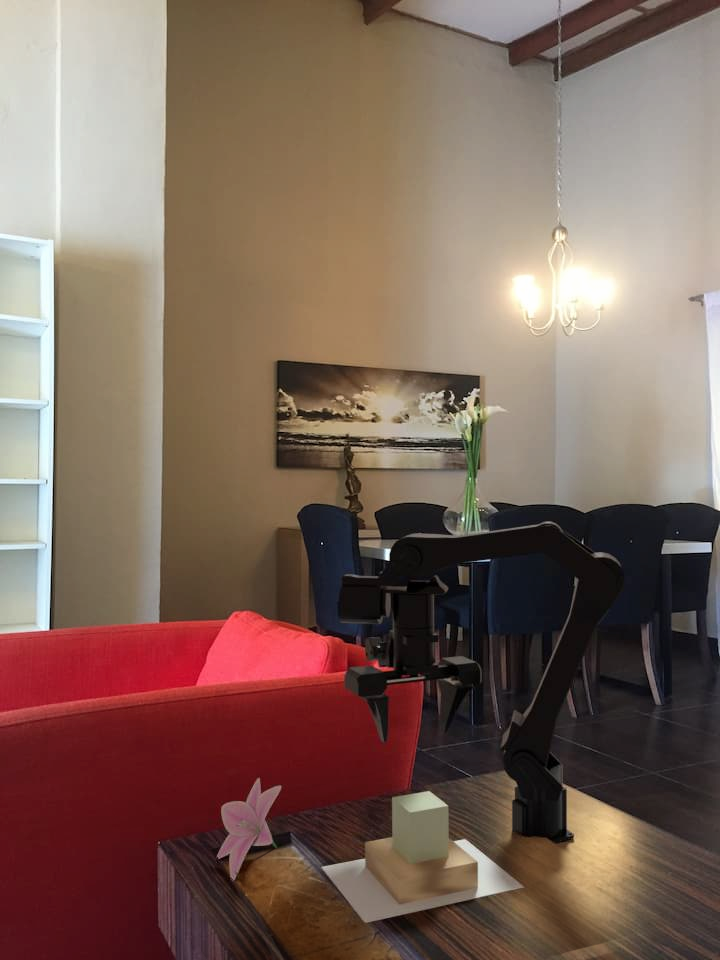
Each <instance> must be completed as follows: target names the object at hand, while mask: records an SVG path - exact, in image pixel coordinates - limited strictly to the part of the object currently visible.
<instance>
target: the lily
mask: <svg viewBox="0 0 720 960" xmlns="http://www.w3.org/2000/svg"><path fill="white" fill-rule="evenodd" d="M261 790H262V789H261V778H260V777H258V778H256V780H255V782H254V784H253V786H252V787H251V790H250V791H249V794H248V795H247V798H246V801H242V800H241V801H240V800H238V801H237V800H234V801H230V802H225V803H224V804H223V805H221V809H220V811H221V812H220V813H221V819H222V823H223V825H224V828H225V829H226V831H227V832H228V833H229V834H228V835H227V836H226V838H225V840H224V841H223V843H222V844H221V847H220V848H219V851H218V853H217V855H216V858H217V857H218V859H217V860H219V859H221V858H224V857H226V856H229V859H228V860H229V862H228V863H229V864H228V865H229V874H230V875H229V876H230V879H231V878H232V879H233V880H232V879H231V880H232V881H235V880H236V877H237V876H238V874H239V872H240V869H241V867H242V864H243V862H244V860H245V858H246V855H248V854H247V853H248V852H249V849H250V848H251V846H253V847H256V846H257V847H261V846H262V847H263V846H264V847H265V846H270V845H271V844H272V846H273V847H274V848H275V849H277V848H278V846H277V844H276V843H275V841H274V840H273V836H272V834H271V831H270V828H269V826H268V824H267V821H266V818H267V817H266V816H267V815H268V813H269V811H270V808H271V807H272V806H273V803H274V802H275V800H276V798H277V797H278V795H279V794H280V792H281V790H282V785H276V786H273V787H271V788H269V789H267V790H265V791H263V792H262V791H261Z"/></svg>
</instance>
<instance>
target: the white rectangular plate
mask: <svg viewBox="0 0 720 960" xmlns="http://www.w3.org/2000/svg"><path fill="white" fill-rule="evenodd" d="M452 841H453V842H455V843H456V844H457V845H458V846H459V847H461V848H462V849H463V850H464V851H465V852H467V853H468V854H469V855H470V856H471V857H473V858H474V859H475V860H476V861H477V862H478V888H473V889H469V890H464V891H460V892H455V893H451V894H446V895H441V896H437V897H432V898H428V899H423V900H419V901H414V902H409V903H405V904H400V905H399V903H398V902H397V901H396V900H395V899H394V898H393V897H392V896H391V895H390V893H389V892H388V891H387V890H386V889H385V888H384V887H383V886H382V885H381V883H380V882H379V881H378V880H377V879H376V878H375V877H374V876H373V875H372V873H371V872H370V871H369V870H368V869H367V868H366V867H365V858H361V859H355V860H350V861H346V862H340V863H335V864H329V865H325V866H321V867H320V868H321V869H322V870H323V872H324V873H325V875H327V877H328V878H329V880H330V881H331V882H332V883H333V885H334V886H335V887H336V888H337V889H338V890H339V892H340V893H341V894H342V896H343V897H344V898H345V899H346V901H347V902H348V903H349V904H350V906H351V907H352V908H353V910H354V911H355V912H356V913H357V915H358V916H359V917H360V918H361V920H362V921H363V922H364V924H366V923H371V922H376V921H379V920H384V919H388V918H394V917H399V916H402V915H407V914H411V913H416V912H420V911H425V910H430V909H434V908H438V907H442V906H447V905H452V904H456V903H460V902H464V901H471V900H474V899H475V900H476V899H478V898H484V897H488V896H493V895H496V894H500V893H505V892H506V893H507V892H510V891H514V890H518V889H523V888H525V886H524V885H523V884H521V883H520V882H519V881H518V880H516V879H515V877H513V876H511V875H510V874H509V873H508V872H507V871H506V870H504V869H503V868H501V867H500V866H499V865H498V864H497V863H495V862H494V861H493V860H492V859H490V858H489V857H488V856H487V855H485V854H484V853H483V852H482V851H481V850H479V849H478V848H477V847H476V846H474V845H473V844H472V843H470V841H468V840H467V839H466V838H465V839H464V838H463V839H458V840H452Z"/></svg>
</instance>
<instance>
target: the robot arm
mask: <svg viewBox="0 0 720 960" xmlns="http://www.w3.org/2000/svg"><path fill="white" fill-rule="evenodd" d="M540 553H541V554H545V555H546V556H548V557H549V558H551V559H552V560H553V561H554V562H555V563H556V564H557V565H559V566H560V567H562V568H563V569H564V570H565V571H566V572H568V573H569V574H570V575H572V576H573V577H574V578H575V579H576V580H575V584H574V590H573V595H572V599H571V600H572V601H571V605H570V610H569V614H568V616H567V619H566V621H565V623H564V626H563V628H562V630H561V632H560V636H559V638H558V639H557V642H556V644H555V647H554V649H553V652H552V654H551V657H550V659H549V661H548V663H547V666H546V668H545V671H544V673H543V675H542V678H541V680H540V683H539V685H538V686H537V687H538V688H537V690H536V692H535V694H534V697H533V699H532V701H531V703H530V705H529V706H528V707H527V709H526V710H525V711H524V713H523V714H522V713H520V711H518V710H516V709H515V710H513V713H512V717H511V722H510V725H509V727H508V729H507V730H506V731H505V732H504V733H503V734H502V735H503V736H502V740H501V744H500V751H502V752H503V751H504V752H503V755H502V760H501V761H502V766H503V769H504V772H505V773H506V774H507V776H508V777H509V779H511V780H513V781H514V782H515V784H516V786H515V787H514V799H512V801H511V829H512V831H514V832H515V833H517V834H518V835H519V836H521V837H522V838H523V837H524V838H526V837H527V838H532V837H536V838H542V839H544V838H546V839H547V840H548V841H550V842H551V843H554V844H555V843H558V842H562V841H567V840H572V839H574V838H575V834H574V832H572V831H570V830H568V829H567V828H568V822H567V821H568V816H567V815H568V813H567V812H568V809H567V808H568V807H567V806H568V805H567V802H568V799H567V798H568V797H567V796H568V795H567V793H568V792H567V791H568V790H567V788H566V787H565V786H564V785H563V784H564V781H563V779H564V778H563V777H564V774H563V773H564V771H563V770H564V764H563V763H562V762H561V761H560V760H559V759H558V758H557V757H556V756H555V755H554V754H553V753H552V752H551V749H552V743H553V739H554V733H555V728H556V724H557V720H558V717H559V716H560V713H561V710H562V708H563V707H564V703H565V701H566V700H567V699H566V698H567V696H568V694H569V692H570V689H571V688H572V685H573V682H574V679H575V678H576V675H577V673H578V670H579V669H580V665H581V664H582V661H583V659H584V656H585V654H586V652H587V649H588V647H589V644H590V642H591V639H592V638H593V635H594V633H595V631H596V629H597V627H598V625H599V624H600V623H601V622H602V621H603V619H604V618H605V616H606V615H607V614H608V613H609V611H610V610H611V609H612V607H613V606H614V605H615V603H616V601H617V600H618V599H619V596H620V595H621V594H622V592H623V590H624V588H625V586H626V585H625V584H626V574H625V571H624V569H623V567H622V565H621V563H620V561H618V559H617V558H616V557H615V556H613V555H611V554H610V553H607V552H603V551H602V552H601V551H600V552H595V551H593V550H592V549H591V548H589V547H588V546H587V545H586V544H584V543H582V542H581V541H579V540H578V539H576V538H575V537H573V536H572V535H571V534H569V533H567V532H566V531H565V530H563V529H562V528H561V526H560V525H558V524H557V523H555V522H553V521H543V522H541V523H538V524H532V525H525V526H519V527H511V528H503V529H498V530H497V529H496V530H489V531H483V532H475V533H468V534H460V535H453V534H452V535H451V534H439V533H419V532H418V533H411V534H408V535H405V536H403V537H401V538H399V539H398V540H396V541H395V542H394V543H393V545H392V546H391V548H390V551H389V556H388V557H389V558H388V560H389V562H388V563H387V564H386V566H385V567H384V569H383V570H382V571H379V575H378V576H376V575H374V576H373V575H358V574H351V573H349V574H348V573H346V574H344V575H343V576H342V577H341V585H340V590H339V594H338V599H337V601H336V609H337V611H336V612H337V617H338V620H339V622H340V623H341V624H365V625H366V624H367V625H381V624H382V622H383V619H384V618H389V616H390V614H391V608H392V629H391V630H388V638H387V639H388V640H387V641H382V638H381V637H380V636H376V637H374V636H373V637H368V638H366V639H365V641H364V642H365V644H364V645H365V647H364V651H365V653H364V654H365V660H367V662H375V661H377V664H378V668H377V667H376V666H373V665H363V666H353V667H349V668H348V669H347V671H346V672H345V673H344V688H345V689H346V690H348V691H349V692H351V693H353V694H354V695H356V696H358V697H359V698H361V699H363V700H364V701H365V702H366V705H367V706H368V708H369V710H370V712H371V716H372V719H373V721H374V723H375V726H376V729H377V732H378V736H379V738H380V740H381V741H382V742H383V743H387V742H388V735H389V714H390V713H389V711H390V710H389V709H390V708H389V703H390V701H389V699H390V697H389V696H388V695H386V694H385V691H386V690H387V689H388V686H393V685H402V684H409V683H421V682H427V681H436V680H437V684H438V687H439V690H440V701H439V702H440V703H439V704H440V708H439V709H440V711H439V713H440V714H439V724H440V725H439V727H440V733H441V734H443V735H446V734H447V733H448V732H449V729H450V727H451V725H452V723H453V720H454V718H455V716H456V714H457V712H458V710H459V708H460V707H461V704H462V703H463V701H464V699H465V697H467V694H468V692H469V691H473V690H474V688H475V686H474V685H476V684H481V683H482V681H483V676H482V675H483V673H482V672H483V670H482V668H481V665H480V663H478V662H477V661H475V660H472V659H470V658H467V657H465V656H463V655H459V656H457V655H456V656H450V657H442V658H440V660H439V662H438V663H435V643H439V634H437V633H436V632H435V595H438V596H439V595H440V596H442V595H445V594H446V593H447V592H448V590H449V586H447V585H446V584H445V583H443V582H442V581H441V580H440V579H441V578H439V576H438V575H435V574H434V575H433V576H432V578H431V579H430V580H414V579H417V578H420V577H423V576H426V575H430V574H433V573H437V572H439V571H442V570H444V569H448V568H450V567H453V566H456V565H458V564H459V565H460V564H466V563H472V562H480V561H489V560H496V559H497V560H498V559H503V558H512V557H518V556H519V557H520V556H526V555H534V554H540ZM402 579H406V580H407V579H409V581H408V582H407V585H406V586H393V585H395V584H396V583H397V582H399V581H400V580H402ZM391 594H392V599H391ZM391 601H392V602H391ZM391 603H392V605H391ZM381 668H388V669H392V670H385V671H383V670H380V669H381Z"/></svg>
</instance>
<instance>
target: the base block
mask: <svg viewBox="0 0 720 960" xmlns="http://www.w3.org/2000/svg"><path fill="white" fill-rule="evenodd" d="M453 841H454V840H452V839H451V838H450V837H449V856H448V857H443V858H438V859H433V860H428V861H423V862H418V863H413V864H410V863H409V862H408V861H407V860H406V859H405V858H404V857H403V856H402V855H401V854H399V853H398V852H397V851H396V850H395V849H394V848H393V847H392V836H391V837H386V838H381V839H375V840H370V841H365V842H364V856H365V857H364V859H365V867H366V868H367V869H368V870H369V871H370V872H371V873H372V875H373V876H374V877H375V878H376V879H377V880H378V881H379V882H380V883H381V885H382V886H383V887H384V888H385V889H386V890H387V891H388V892H389V893H390V895H391V896H392V897H393V898H394V899H395V900H396V901H397V902H398V903H399V905H400V904H405V903H409V902H414V901H419V900H423V899H428V898H432V897H437V896H441V895H446V894H451V893H455V892H460V891H464V890H469V889H473V888H478V862H477V861H476V860H475V859H474V858H473V857H471V856H470V855H469V854H468V853H467V852H465V851H464V850H463V849H462V848H461V847H459V846H458V845H457V844H456V843H455V842H453Z"/></svg>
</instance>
